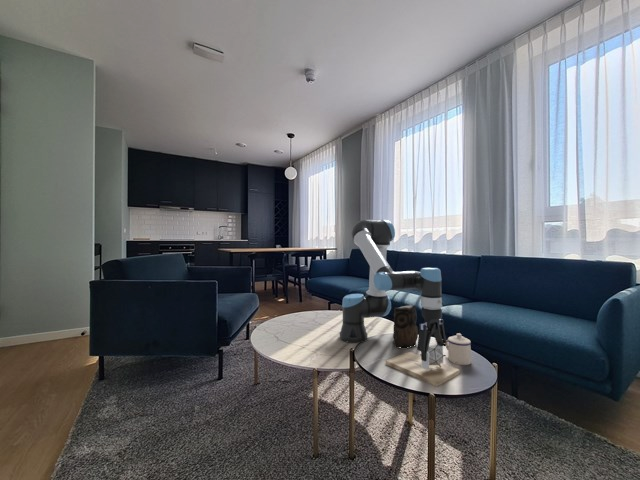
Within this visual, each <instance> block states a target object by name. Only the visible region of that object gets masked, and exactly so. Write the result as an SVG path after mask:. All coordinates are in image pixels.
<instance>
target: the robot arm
mask: <svg viewBox="0 0 640 480" xmlns="http://www.w3.org/2000/svg"><path fill="white" fill-rule="evenodd" d="M395 236H396V230H395V226H394V225H393V223H392V222H391V221H390V220H387V219H360V220H359V221H356V222H355V224H354V225H353V227H352V229H351V239H352V242H353V244H354V245H356V246H357V247H358V249H359V250H360V251H361V253H362V254H363V256H364V258H365V260H366V262H367V263H368V265H369V276H368V277H369V278H368V279H369V280H368V281H369V284H368V290H366V291H365V296H364V294H363V293H350V294H346V295H345V296H344V297H343V298H342V304H341V306H342V308H341V309H342V325H341V329H340V332H339V340H340V341H343V342H347V343H352V344H354V343H355V344H356V343H357V344H358V343H363V342H362V341H364V342H366V341H368V338H369V337H368V332H367V329H366V326H365V319H367V318H368V319H369V318H382V317H386V316H388V315H389V314H390V311H391V310H392V302H391V298H390V296H389V295H388V291H399V290H402V291H403V290H404V291H405V290H418V291H420V305H421V309H420V310H421V317H422V318H423V323H419V325H418V338H417V347H416V350H417V352H418V351H419V352H420V354H421V355H420V356H421V360H422V368H423V369H426V370H429V352H427V351H428V347H429V346H430V342H431V338H432V336H434V340H435V343H436V344H435V346H437V344H438V348H439V349H440V351H441V352H442V354H443V355H444V347H446V344H445V343H446V340H447V337H446V331H445V325H444V322H445V321H444V319H443V308H442V307H443V306H442V305H443V304H442V303H443V300H442V297H443V296H442V290H443V289H442V272H441V269H440V268H438V267H422V268H420V271H417V270H406V271H405V270H404V271H394V270H393V268H392V267H391V266H390V264H389V263H388V261H387V251H388V249H387V248H388V247H389V246H390V244H391V242H392V241H394V239H395ZM386 291H387V292H386ZM365 340H366V341H365ZM441 363H442V364H444V358H443V359H442V361H441Z"/></svg>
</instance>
